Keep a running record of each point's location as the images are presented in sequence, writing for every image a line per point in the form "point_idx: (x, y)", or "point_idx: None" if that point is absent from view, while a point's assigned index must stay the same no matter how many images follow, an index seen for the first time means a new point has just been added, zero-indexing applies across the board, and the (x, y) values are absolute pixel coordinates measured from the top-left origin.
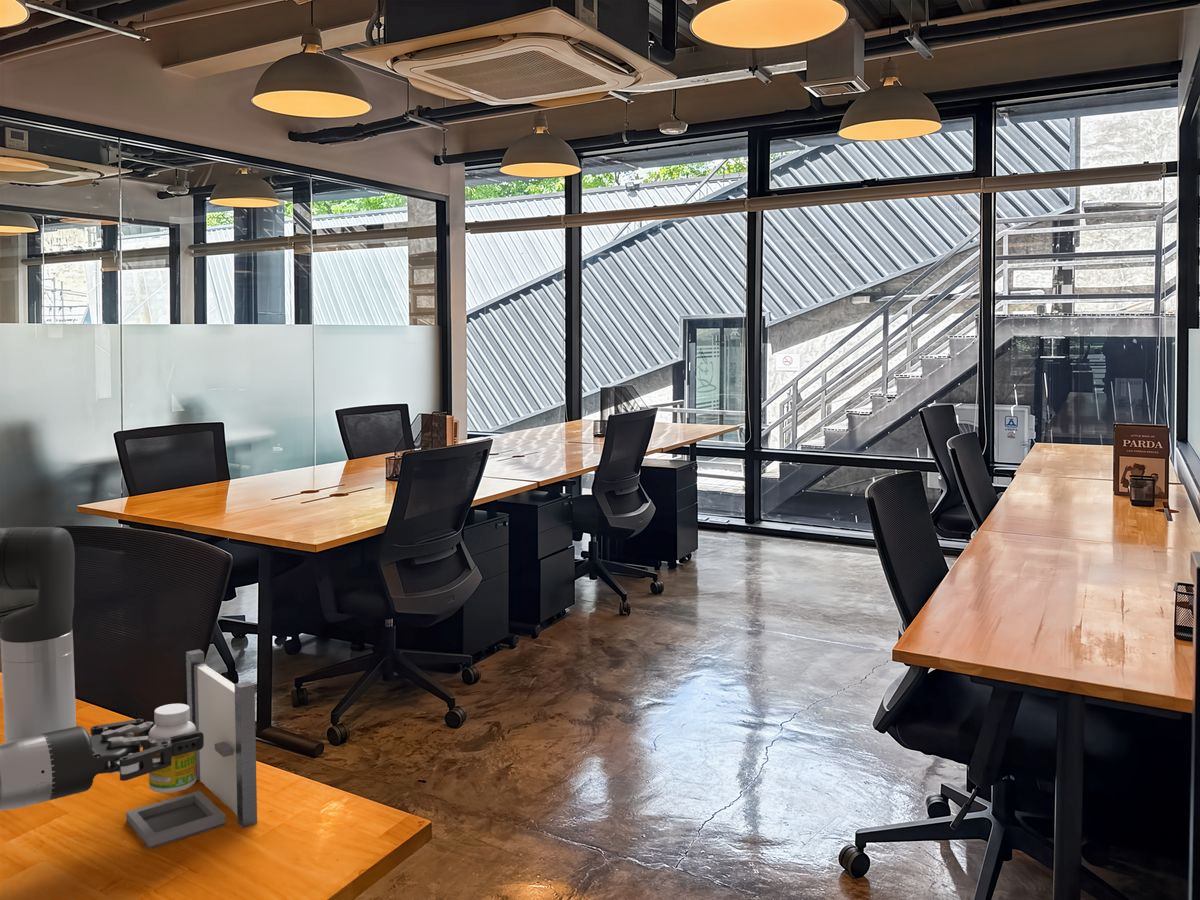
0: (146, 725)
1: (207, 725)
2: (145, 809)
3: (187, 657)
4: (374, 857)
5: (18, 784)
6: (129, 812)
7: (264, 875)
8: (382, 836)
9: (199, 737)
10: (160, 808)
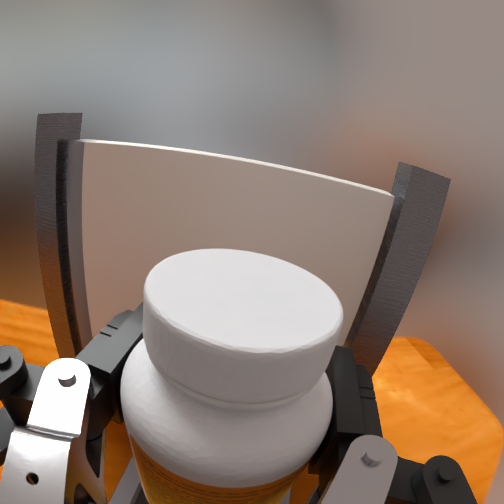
0: (76, 395)
1: (135, 295)
2: None
3: (42, 126)
4: (467, 386)
5: None
6: None
7: (465, 477)
8: (433, 365)
9: (363, 366)
10: (134, 496)
